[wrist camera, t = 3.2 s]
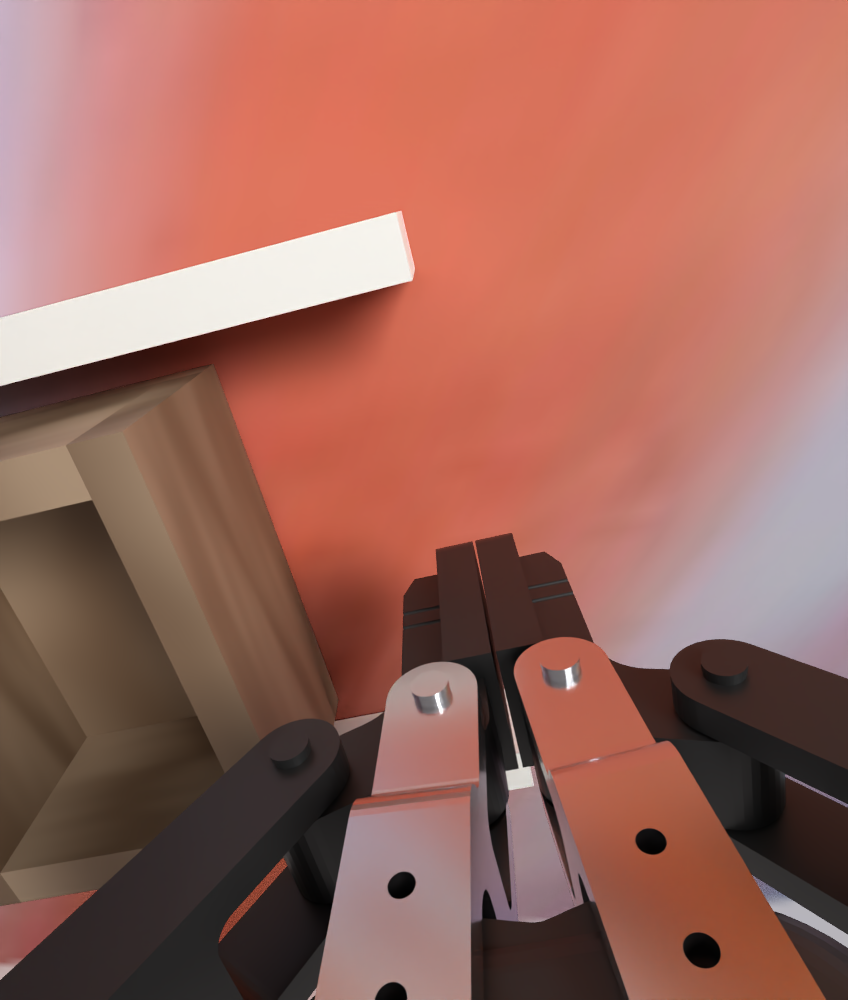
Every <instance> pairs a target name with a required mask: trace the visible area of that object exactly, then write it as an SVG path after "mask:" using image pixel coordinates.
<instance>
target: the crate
mask: <svg viewBox="0 0 848 1000" xmlns="http://www.w3.org/2000/svg"><path fill="white" fill-rule="evenodd" d="M337 705H338V697H337V694H336V692H335V689H334V686H333V684H332V681H331V678H330V676H329V673H328V670H327V668H326V665H325V662H324V659H323V657H322V654H321V651H320V649H319V646H318V643H317V641H316V638H315V635H314V633H313V630H312V627H311V625H310V622H309V619H308V617H307V614H306V611H305V608H304V606H303V603H302V600H301V598H300V595H299V592H298V590H297V587H296V584H295V582H294V579H293V576H292V574H291V571H290V568H289V566H288V563H287V560H286V558H285V555H284V552H283V549H282V547H281V544H280V541H279V539H278V536H277V533H276V531H275V528H274V525H273V523H272V520H271V517H270V515H269V512H268V509H267V507H266V504H265V501H264V498H263V496H262V493H261V490H260V488H259V485H258V482H257V480H256V477H255V474H254V472H253V469H252V466H251V464H250V461H249V458H248V456H247V453H246V450H245V448H244V445H243V442H242V439H241V437H240V434H239V431H238V429H237V426H236V423H235V421H234V418H233V415H232V413H231V410H230V407H229V405H228V402H227V399H226V397H225V394H224V391H223V388H222V386H221V383H220V380H219V378H218V375H217V372H216V370H215V367H214V364H210V365H206V366H202V367H198V368H194V369H190V370H186V371H182V372H178V373H174V374H170V375H166V376H162V377H158V378H154V379H150V380H146V381H142V382H138V383H134V384H130V385H126V386H122V387H119V388H115V389H111V390H107V391H103V392H99V393H95V394H91V395H87V396H83V397H79V398H75V399H71V400H67V401H63V402H59V403H55V404H51V405H47V406H43V407H39V408H35V409H31V410H27V411H23V412H19V413H15V414H11V415H7V416H3V417H0V906H3V905H9V904H15V903H21V902H27V901H32V900H38V899H44V898H50V897H56V896H62V895H68V894H74V893H80V892H86V891H92V890H98V889H100V888H101V887H102V886H103V885H104V884H105V883H106V882H107V881H108V880H110V879H111V878H112V877H113V876H114V875H115V874H116V873H117V872H118V871H119V870H120V869H121V868H123V867H124V866H125V865H126V864H127V863H128V862H129V861H130V860H131V859H132V858H133V857H135V856H136V855H137V854H138V853H139V852H140V851H141V850H142V849H143V848H144V847H145V846H146V845H148V844H149V843H150V842H151V841H152V840H153V839H154V838H155V837H156V836H157V835H158V834H159V833H161V832H162V831H163V830H164V829H165V828H166V827H167V826H168V825H169V824H170V823H171V822H173V821H174V820H175V819H176V818H177V817H178V816H179V815H180V814H181V813H182V812H183V811H184V810H186V809H187V808H188V807H189V806H190V805H191V804H192V803H193V802H194V801H195V800H196V799H197V798H199V797H200V796H201V795H202V794H203V793H204V792H205V791H206V790H207V789H208V788H209V787H210V786H212V785H213V784H214V783H215V782H216V781H217V780H218V779H219V778H220V777H221V776H222V775H224V774H225V773H226V772H227V771H228V770H229V769H230V768H231V767H232V766H233V765H234V764H235V763H237V762H238V761H239V760H240V759H241V758H242V757H243V756H244V755H245V754H246V753H247V752H248V751H250V750H251V749H252V748H253V747H254V746H255V745H256V744H257V743H258V742H259V741H260V740H262V739H263V738H264V737H265V736H266V735H268V734H269V733H270V732H272V731H273V730H275V729H277V728H279V727H280V726H282V725H285V724H287V723H290V722H293V721H296V720H301V719H321V720H324V721H327V722H328V723H330V724H332V725H333V726H334V722H335V716H336V711H337ZM283 858H284V857H283Z"/></svg>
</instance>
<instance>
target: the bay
mask: <svg viewBox="0 0 848 1000" xmlns="http://www.w3.org/2000/svg"><path fill="white" fill-rule="evenodd" d="M414 271H415V266H414V262H413V258H412V254H411V250H410V245H409V241H408V237H407V233H406V229H405V224H404V220H403V216H402V212H401V211H398V212H394V213H390V214H387V215H383V216H379V217H376V218H372V219H368V220H364V221H361V222H357V223H353V224H349V225H346V226H342V227H338V228H334V229H331V230H327V231H323V232H319V233H316V234H312V235H308V236H305V237H301V238H297V239H293V240H290V241H286V242H282V243H278V244H275V245H271V246H267V247H263V248H260V249H256V250H252V251H248V252H245V253H241V254H237V255H233V256H230V257H226V258H222V259H219V260H215V261H211V262H207V263H204V264H200V265H196V266H192V267H189V268H185V269H181V270H177V271H174V272H170V273H166V274H162V275H159V276H155V277H151V278H148V279H144V280H140V281H136V282H133V283H129V284H125V285H121V286H118V287H114V288H110V289H106V290H103V291H99V292H95V293H91V294H88V295H84V296H80V297H76V298H73V299H69V300H65V301H62V302H58V303H54V304H50V305H47V306H43V307H39V308H35V309H32V310H28V311H24V312H20V313H17V314H13V315H9V316H5V317H2V318H0V386H2V385H6V384H10V383H14V382H18V381H22V380H26V379H29V378H33V377H37V376H41V375H45V374H49V373H53V372H57V371H61V370H65V369H69V368H72V367H76V366H80V365H84V364H88V363H92V362H96V361H100V360H104V359H108V358H112V357H115V356H119V355H123V354H127V353H131V352H135V351H139V350H143V349H147V348H151V347H154V346H158V345H162V344H166V343H170V342H174V341H178V340H182V339H186V338H190V337H194V336H197V335H201V334H205V333H209V332H213V331H217V330H221V329H225V328H229V327H233V326H236V325H240V324H244V323H248V322H252V321H256V320H260V319H264V318H268V317H272V316H276V315H279V314H283V313H287V312H291V311H295V310H299V309H303V308H307V307H311V306H315V305H318V304H322V303H326V302H330V301H334V300H338V299H342V298H346V297H350V296H354V295H358V294H361V293H365V292H369V291H373V290H377V289H381V288H385V287H389V286H393V285H397V284H400V283H404V282H408V281H412V280H413V275H414ZM504 692H505V689H504ZM505 697H506V693H505ZM506 703H507V708H508V713H509V719H510V724H511V729H512V735H513V740H514V745H515V751H516V756H517V761H518V767H519V769H515V770H509V771H506V777H507V783H508V790H514V789H520V788H526V787H531V786H534V783H533V778H532V772H531V767H530V766H529V767H524V768H523V766H522V761H521V757H520V753H519V749H518V744H517V740H516V736H515V732H514V727H513V723H512V719H511V715H510V710H509V706H508V702H507V698H506ZM382 713H383V712H380V713H375V714H370V715H365V716H359V717H354V718H349V719H343V720H338V721H335V722H334V727H335V728H336V730H337V732H338V734H339V736H340V735H342V734H344V733H346V732H348V731H351V730H353V729H355V728H357V727H359V726H362V725H364V724H366V723H368V722H370V721H372V720H373V719H375V718H376V717H378V716H379V715H380V714H382Z"/></svg>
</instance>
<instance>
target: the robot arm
mask: <svg viewBox="0 0 848 1000" xmlns="http://www.w3.org/2000/svg"><path fill="white" fill-rule="evenodd" d="M475 542H476V547H477V553H478V558H479V564H480V569H481V575H482V580H483V585H484V589H483V585H482V580H481V576H480V572H479V568H478V563H477V559H476V555H475V550H474V546H473V543H472V542H467V543H463V544H458V545H454V546H449V547H444V548H440V549H436V560H437V575H433V576H428V577H424V578H419V579H414V581H413V583H412V584H411V586H410V587H409V589H408V590H407V592H406V593H405V595H404V602H403V614H404V616H403V643H402V676H401V677H400V678H399V679H398V680H397V681H396V682H395V683H394V685H393V686H392V687H391V689H390V691H389V693H388V696H387V701H386V707H385V711H384V712H383V713H382V714H380V715H379V716H378V717H376V718H375V719H373V720H372V721H370V722H368V723H366V724H364V725H362V726H359V727H357V728H355V729H353V730H351V731H348V732H346V733H344V734H342V735H340V736H339V734H338V732H337V730H336V728H335V727H334V726H333V725H332V724H330V723H328V722H327V721H324V720H321V719H301V720H296V721H293V722H290V723H287V724H285V725H282V726H280V727H279V728H277V729H275V730H273V731H272V732H270V733H269V734H268V735H266V736H265V737H264V738H263V739H262V740H260V741H259V742H258V743H257V744H256V745H255V746H254V747H253V748H252V749H251V750H250V751H248V752H247V753H246V754H245V755H244V756H243V757H242V758H241V759H240V760H239V761H238V762H237V763H235V764H234V765H233V766H232V767H231V768H230V769H229V770H228V771H227V772H226V773H225V774H224V775H222V776H221V777H220V778H219V779H218V780H217V781H216V782H215V783H214V784H213V785H212V786H210V787H209V788H208V789H207V790H206V791H205V792H204V793H203V794H202V795H201V796H200V797H199V798H197V799H196V800H195V801H194V802H193V803H192V804H191V805H190V806H189V807H188V808H187V809H186V810H184V811H183V812H182V813H181V814H180V815H179V816H178V817H177V818H176V819H175V820H174V821H173V822H171V823H170V824H169V825H168V826H167V827H166V828H165V829H164V830H163V831H162V832H161V833H159V834H158V835H157V836H156V837H155V838H154V839H153V840H152V841H151V842H150V843H149V844H148V845H146V846H145V847H144V848H143V849H142V850H141V851H140V852H139V853H138V854H137V855H136V856H135V857H133V858H132V859H131V860H130V861H129V862H128V863H127V864H126V865H125V866H124V867H123V868H121V869H120V870H119V871H118V872H117V873H116V874H115V875H114V876H113V877H112V878H111V879H110V880H108V881H107V882H106V883H105V884H104V885H103V886H102V887H101V888H100V889H99V890H98V891H97V892H95V893H94V894H93V895H92V896H91V897H90V898H89V899H88V900H87V901H86V902H85V903H83V904H82V905H81V906H80V907H79V908H78V909H77V910H76V911H75V912H74V913H73V914H72V915H70V916H69V917H68V918H67V919H66V920H65V921H64V922H63V923H62V924H61V925H60V926H59V927H57V928H56V929H55V930H54V931H53V932H52V933H51V934H50V935H49V936H48V937H47V938H45V939H44V940H43V941H42V942H41V943H40V944H39V945H38V946H37V947H36V948H35V949H34V950H32V951H31V952H30V953H29V954H28V955H27V956H26V957H25V958H24V959H23V960H22V961H21V962H19V963H18V964H17V965H16V966H15V967H14V968H13V969H12V970H11V971H10V972H9V973H7V974H6V975H5V976H4V977H3V978H2V979H1V980H0V1000H307V999H308V998H309V997H310V995H311V994H312V992H313V991H314V990H315V989H316V987H317V990H316V995H315V996H314V997H313V998H312V999H311V1000H848V948H847V947H845V946H844V945H842V944H841V943H839V942H837V941H836V940H834V939H833V938H831V937H829V936H827V935H826V934H824V933H822V932H820V931H818V930H816V929H814V928H813V927H811V926H809V925H807V924H805V923H802V922H800V921H798V920H795V919H793V918H791V917H788V916H786V915H784V914H781V913H777V912H774V911H773V910H772V908H771V906H770V905H769V903H768V901H767V900H766V898H765V896H764V895H763V893H762V891H761V890H760V888H759V886H758V885H757V883H756V881H755V879H754V878H753V876H755V877H756V878H758V879H760V880H761V881H763V882H764V883H766V884H768V885H769V886H771V887H772V888H774V889H776V890H777V891H779V892H780V893H782V894H784V895H785V896H787V897H788V898H790V899H792V900H793V901H795V902H797V903H798V904H800V905H801V906H803V907H805V908H806V909H808V910H809V911H811V912H813V913H814V914H816V915H817V916H819V917H821V918H822V919H824V920H826V921H827V922H829V923H830V924H832V925H834V926H835V927H837V928H838V929H840V930H842V931H843V932H845V933H846V934H848V808H847V807H845V806H843V805H841V804H839V803H837V802H835V801H833V800H831V799H829V798H827V797H825V796H823V795H821V794H819V793H817V792H814V791H812V790H810V789H808V788H806V787H804V786H802V785H800V784H798V783H796V782H794V781H792V780H790V779H788V778H786V777H785V774H787V775H789V776H791V777H793V778H795V779H797V780H799V781H801V782H803V783H806V784H808V785H810V786H812V787H814V788H816V789H818V790H820V791H822V792H824V793H826V794H828V795H830V796H832V797H834V798H836V799H838V800H840V801H843V802H845V803H847V804H848V679H847V678H844V677H841V676H838V675H836V674H833V673H830V672H827V671H824V670H822V669H819V668H816V667H813V666H810V665H807V664H805V663H802V662H799V661H796V660H793V659H791V658H788V657H785V656H782V655H779V654H777V653H774V652H771V651H768V650H765V649H763V648H760V647H757V646H754V645H751V644H748V643H745V642H740V641H735V640H726V639H715V640H706V641H702V642H697V643H695V644H692V645H690V646H688V647H686V648H684V649H682V650H681V651H680V652H679V653H678V654H677V655H676V656H675V657H674V658H673V660H672V662H671V665H670V669H644V668H635V667H629V666H626V665H622V664H619V663H617V662H615V661H612V660H611V659H609V658H608V657H607V655H606V654H605V652H604V651H603V650H602V649H601V648H600V647H599V646H597V645H596V644H594V642H593V640H592V637H591V635H590V632H589V630H588V628H587V625H586V623H585V620H584V618H583V615H582V613H581V611H580V608H579V606H578V603H577V601H576V598H575V596H574V595H573V591H572V589H571V586H570V584H569V582H568V579H567V577H566V574H565V572H564V569H563V567H562V564H561V563H560V562H559V561H557V560H556V559H554V558H553V557H552V556H550V555H549V554H547V553H546V552H540V553H536V554H531V555H526V556H522V557H519V555H518V552H517V549H516V545H515V542H514V539H513V535H512V533H509V534H504V535H499V536H495V537H490V538H485V539H481V540H476V541H475ZM484 591H485V593H484ZM485 596H486V598H485ZM503 685H504V687H503ZM504 689H505V692H504ZM505 693H506V697H505ZM506 698H507V702H508V706H509V710H510V715H511V719H512V723H513V727H514V732H515V736H516V740H517V744H518V749H519V753H520V757H521V761H522V766H523V768H524V767H529V766H535V770H536V775H537V779H538V784H539V788H540V792H541V797H542V801H543V806H544V810H545V814H546V817H547V820H548V823H549V826H550V830H551V833H552V836H553V839H554V842H555V846H556V849H557V852H558V855H559V859H560V862H561V865H562V868H563V871H564V875H565V878H566V881H567V884H568V887H569V891H570V894H571V897H572V900H573V903H574V908H572V909H570V910H568V911H565V912H563V913H561V914H559V915H557V916H554V917H552V918H550V919H548V920H545V921H542V922H536V923H529V922H518V912H517V898H516V884H515V869H514V855H513V841H512V826H511V815H510V810H509V806H508V797H509V790H508V783H507V777H506V771H509V770H515V769H519V767H518V761H517V756H516V751H515V745H514V740H513V735H512V729H511V724H510V719H509V713H508V708H507V703H506ZM283 857H284V859H285V862H286V864H287V867H286V868H285V869H284V870H283V871H282V873H281V874H280V875H279V876H278V877H277V878H276V879H275V880H274V882H273V883H272V884H271V885H270V886H269V887H268V888H267V890H266V891H265V892H264V893H263V894H262V895H261V896H260V897H259V899H258V900H257V901H256V902H255V903H254V904H253V905H252V906H251V908H250V909H249V910H248V911H247V912H246V913H245V914H244V915H243V917H242V918H241V919H240V920H239V921H238V922H237V923H236V924H235V926H234V927H233V928H232V929H231V930H230V931H229V932H228V934H227V935H226V936H225V937H224V938H223V939H222V940H221V941H220V943H219V944H218V942H219V938H220V934H221V932H222V929H223V927H224V925H225V923H226V922H227V920H228V919H229V917H230V916H231V915H232V913H233V912H234V911H235V910H236V909H237V908H238V907H239V905H240V904H241V903H242V902H243V901H244V900H245V899H246V898H247V897H248V895H249V894H250V893H251V892H252V891H253V890H254V889H255V888H256V887H257V885H258V884H259V883H260V882H261V881H262V880H263V879H264V878H265V877H266V875H267V874H268V873H269V872H270V871H271V870H272V869H273V868H274V867H275V865H276V864H277V863H278V862H279V861H280V860H281V859H282V858H283ZM752 875H753V876H752Z"/></svg>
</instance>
